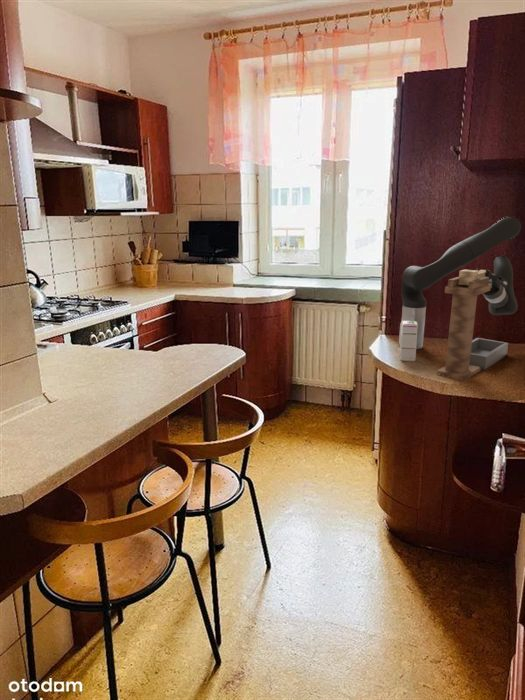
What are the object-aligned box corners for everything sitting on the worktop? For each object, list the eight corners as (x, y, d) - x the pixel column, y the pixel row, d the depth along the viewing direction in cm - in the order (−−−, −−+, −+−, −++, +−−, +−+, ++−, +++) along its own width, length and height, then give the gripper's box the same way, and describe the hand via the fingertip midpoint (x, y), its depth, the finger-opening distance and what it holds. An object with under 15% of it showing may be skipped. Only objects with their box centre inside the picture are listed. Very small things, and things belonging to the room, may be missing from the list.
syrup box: (415, 361, 193) (418, 324, 189) (399, 360, 194) (402, 323, 190) (414, 357, 198) (417, 320, 194) (398, 356, 199) (401, 320, 195)
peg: (458, 284, 170) (459, 270, 169) (478, 277, 183) (480, 265, 182) (471, 285, 167) (473, 272, 166) (491, 279, 181) (492, 266, 179)
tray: (452, 363, 190) (453, 350, 189) (475, 349, 207) (477, 337, 206) (484, 370, 182) (486, 356, 181) (506, 355, 199) (508, 342, 198)
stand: (436, 374, 178) (446, 279, 169) (452, 364, 188) (462, 274, 179) (465, 380, 172) (476, 282, 162) (480, 370, 182) (491, 277, 172)
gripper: (477, 279, 196) (464, 260, 183) (515, 283, 187) (505, 263, 174) (471, 297, 195) (458, 279, 182) (509, 301, 186) (499, 283, 173)
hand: (481, 271), depth 178 cm, fingers closed on peg, 3 cm apart
